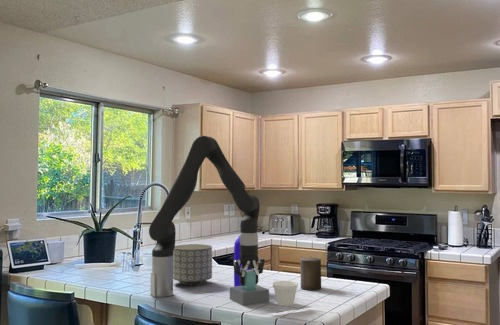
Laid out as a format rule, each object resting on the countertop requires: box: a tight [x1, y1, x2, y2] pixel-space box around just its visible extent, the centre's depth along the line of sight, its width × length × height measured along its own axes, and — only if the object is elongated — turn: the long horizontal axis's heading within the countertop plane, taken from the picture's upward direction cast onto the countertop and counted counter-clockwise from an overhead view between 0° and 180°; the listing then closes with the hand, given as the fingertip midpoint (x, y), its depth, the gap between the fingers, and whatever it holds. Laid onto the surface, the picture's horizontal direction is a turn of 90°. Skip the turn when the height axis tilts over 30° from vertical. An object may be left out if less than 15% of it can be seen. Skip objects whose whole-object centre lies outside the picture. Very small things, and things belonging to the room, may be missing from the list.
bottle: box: [233, 224, 252, 287], centre depth 217 cm, size 8×8×30 cm
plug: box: [243, 270, 257, 290], centre depth 196 cm, size 4×4×12 cm
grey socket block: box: [229, 284, 270, 306], centre depth 196 cm, size 12×12×6 cm
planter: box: [173, 243, 213, 287], centre depth 233 cm, size 19×19×18 cm
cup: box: [272, 280, 298, 307], centre depth 190 cm, size 10×10×9 cm
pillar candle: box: [299, 256, 322, 291], centre depth 223 cm, size 10×10×15 cm
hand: (249, 284), depth 196 cm, fingers open, 5 cm apart
